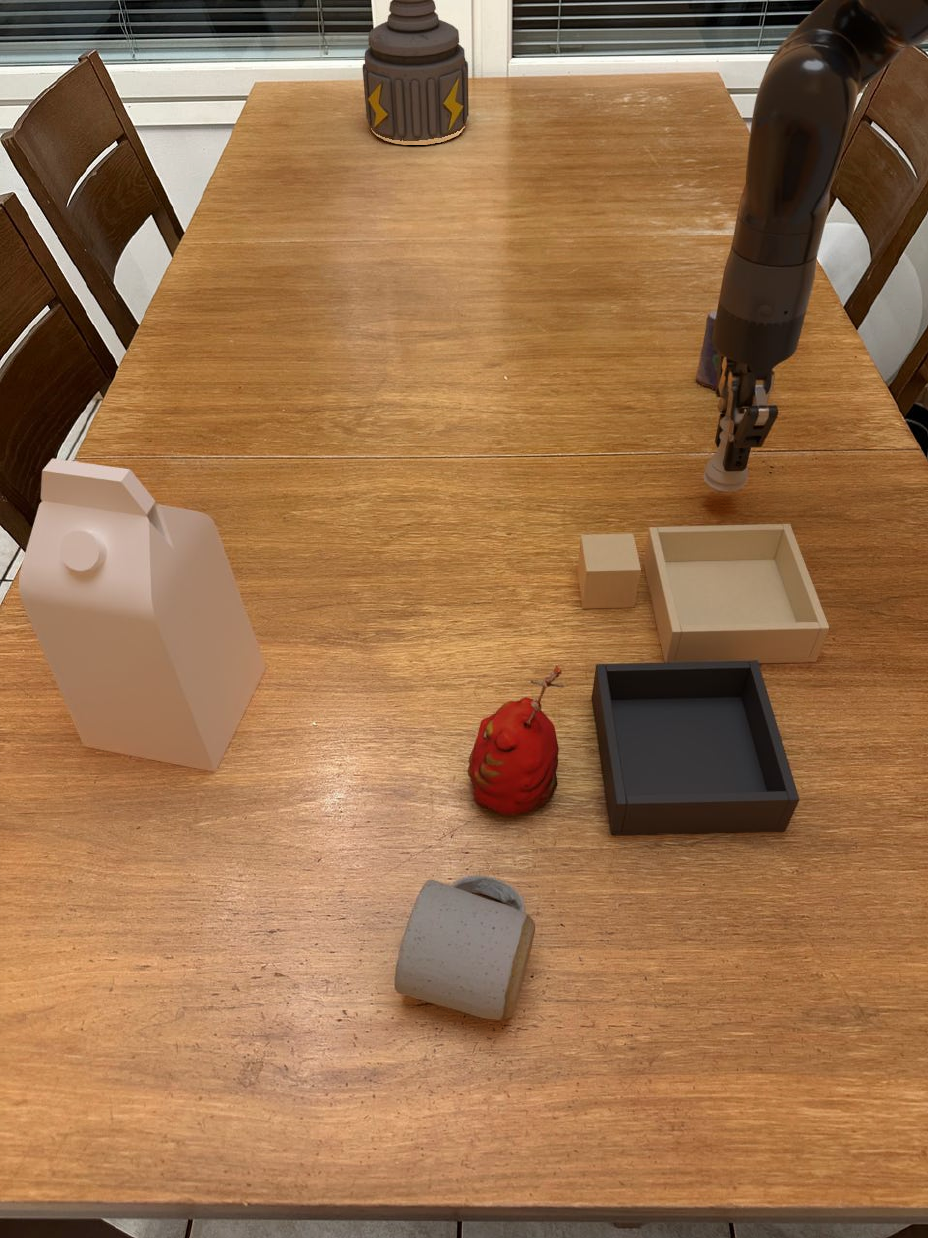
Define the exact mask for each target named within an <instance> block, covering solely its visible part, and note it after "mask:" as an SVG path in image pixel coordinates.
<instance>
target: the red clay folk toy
mask: <svg viewBox="0 0 928 1238" xmlns="http://www.w3.org/2000/svg"><path fill="white" fill-rule="evenodd" d="M550 673H551V674H550V675H549V677H547V676H546V677H545V678H543V680H542V682H538V681H534V680H530V683H532V684H534V685H539V686H542V688H541V692H540V694H539V695H538V698H537V699H533V698H531V697H527V696H526V697H523V698H520V699H519V700H515V701H513V700H510V701H507V702H505V703H503V704H502V705H501V706H500V707H499V708H498V709H497V710H496V711H495V712H494V713H493V714H491V715H489V716H487V717H484V718H483V719H482V720H481V721H480V725H479V727H478V728H479V729H478V732H477V736H476V739H475V741H474V745H473V747H472V750H471V752H470V755H469V757H468V768H467V776H468V777H469V778H470V782H471V784H472V785H473V795H472V796H473V799H474V802H475V803H476V805H477V806H479V807H481V808H485V809H491V810H492V811H494V812H496V813H497V814H500V815H503V816H505V815H506V816H512V815H513V816H514V815H519V814H523V813H527V812H529V811H530V810H532V809H534V808H536V807H537V806H541V805H545V804H547V803H548V802H549V801H550V800H551V798H552V797H553V795H554V794H555V791H556V789H557V786H558V776H557V770H558V766H559V749H560V748H559V742H558V737H557V732H556V728H555V724H554V723H553V722H552V720H551V719H550V718H549V717H548V716H547V714H546V713H545V712H544V711H542V703H541V701H542V698H543V695H544V693H545V691H546V689H547V688H549V687H555V688H556V687H557V688H564V685H563V683H553V682H554V681H555V680H556V679H557V678H559V677H561V675H562V668H561V667H560V666H558V665H556V666H555V667H554V668H552V670H551V672H550Z"/></svg>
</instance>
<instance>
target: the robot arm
mask: <svg viewBox="0 0 928 1238" xmlns="http://www.w3.org/2000/svg"><path fill="white" fill-rule="evenodd" d="M927 40H928V0H823V1H822V2H821V3H820V4H818V5H817V7H815V9H814V10H812V12H810V13H809V14H808V15H807V17H805V18H804V19H803V20H802V21H801V22H800V23H799V24H798V25H797V27H796V28H795V29H794V30H793V31H792V32H791V33H790V34H789V35H788V37H787V38H786V39H785V40H784V41H783V42H782V43H781V44H780V46H779V47H778V48H777V49H776V51H775V52H774V54H773V55H772V57H771V58H770V60H769V62H768V64H767V66H766V69H765V71H764V75H763V77H762V79H761V83H760V85H759V88H758V91H757V93H756V96H755V101H754V107H753V111H752V118H751V124H750V132H749V138H748V148H747V159H746V168H745V169H746V171H745V184H744V186H743V189H742V193H741V196H740V200H739V205H738V209H737V214H736V220H735V225H734V231H733V236H732V243H731V247H730V251H729V253H728V256H727V259H726V262H725V266H724V271H723V275H722V280H721V286H720V293H719V298H718V303H717V308H716V311H717V314H716V319H715V325H714V331H713V336H712V339H713V344H714V346H715V348H716V349H717V350H718V352H719V359H718V372H717V385H716V391H714V392H715V395H716V398H719V401H718V404H717V410H718V412H719V417H718V422H717V427H716V434H715V439H714V443H715V446H716V448H718V447H719V445H720V441H721V439H720V433H721V432H722V431H723V429H722V428H721V426H720V420H721V419H722V418H723V417H725V414H726V413H727V415H728V417H729V418H730V428H729V433H728V441H727V446H726V450H725V455H724V460H723V467H724V470H725V471H743V470H745V469H746V467H748V461H749V458H750V454H751V449H752V448H761V447H763V446H764V443H765V441H766V439H767V437H768V435H769V433H770V431H772V428H773V426H774V424H775V422H776V420H777V418H778V415H779V409H778V406H777V405H776V404H773V405H771V404H770V405H769V399H770V394H771V393H770V392H772V391H773V389H774V385H775V378H776V373H775V370H774V369H775V367H777V366H778V365H779V364H781V363H783V362H785V361H787V360H789V359H790V358H791V357H792V356H793V355H794V354H795V352H796V351H797V349H798V345H799V343H800V342H799V341H800V338H801V334H802V329H803V326H804V322H805V319H806V315H807V311H808V307H809V302H810V298H811V294H812V290H813V287H814V282H815V276H816V268H817V267H816V266H817V260H818V253H819V250H820V246H821V243H822V239H823V234H824V230H825V226H826V222H827V217H828V213H829V206H830V200H831V188H832V186H833V182H834V180H835V176H836V173H837V170H838V167H839V164H840V161H841V159H842V155H843V151H844V148H845V144H846V141H847V138H848V134H849V131H850V128H851V123H852V120H853V117H854V113H855V109H856V105H857V98H858V96H859V95H860V93H862V91H863V90H864V89H865V88H866V87H867V86H868V85H869V83H871V82H872V81H873V80H874V78H876V77H877V76H878V75H879V74H880V73H881V72H882V71H883V70H885V68H886V67H887V66H888V65H889V64H890V63H892V62H893V60H894V59H896V58H897V57H898V56H899V55H900V54H901V53H902V52H903V51H904V50H905V49H906V48H914V47H917V46H919V45H921V44H923V43H924V42H925V41H927ZM740 421H741V423H740V425H739V427H738V424H739V422H740Z"/></svg>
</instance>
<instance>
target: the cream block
mask: <svg viewBox="0 0 928 1238" xmlns="http://www.w3.org/2000/svg"><path fill="white" fill-rule="evenodd" d="M637 548H638V547H637V544H636V538H635V534H634V533H594V534H591V533H589V534H580V539H579V548H578V549H579V551H578V560H577V569H576V571H577V572H576V573H577V581H578V587H579V594H580V601H581V602H580V603H581V609H582V610H584V609H586V610H587V609H622V608H623V609H625V608H627V609H630V608H635V607H636V602H637V596H638V590H639V585H640V579H641V573H642V569H641V564H640V563H641V562H640V558H639V554H638V549H637Z"/></svg>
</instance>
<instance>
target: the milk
mask: <svg viewBox="0 0 928 1238" xmlns="http://www.w3.org/2000/svg"><path fill="white" fill-rule="evenodd" d="M40 500H41V502H40V503H39V504H38V508H37V510H36V515H35V518H34V521H33V525H32V528H31V533H30V536H29V539H28V542H27V545H26V549H25V553H24V557H23V559H22V563H21V567H20V571H19V577H18V595H19V599H20V602H21V605H22V606H23V609H24V612H25V613H26V616H27V619H28V620H29V624H30V625H31V627H32V630H33V632H34V635H35V638H36V639H37V642H38V644H39V646H40V648H41V651H42V653H43V656H44V658H45V660H46V662H47V665H48V667H49V669H50V673H51V675H52V676H53V679H54V681H55V683H56V685H57V688H58V690H59V693H60V695H61V697H62V700H63V701H64V704H65V706H66V708H67V711H68V713H69V716H70V718H71V720H72V722H73V725H74V727H75V729H76V732H77V734H78V737H79V739H80V741H81V744H82V746H83V747H84V748H90V749H94V750H100V751H105V752H108V753H109V752H110V753H114V754H120V755H126V756H130V757H135V758H142V759H145V760H150V761H156V762H162V763H166V764H172V765H176V766H180V767H181V766H182V767H187V768H192V769H197V770H202V771H207V772H212V773H217V771H218V769H219V767H220V765H221V763H222V761H223V758H224V756H225V755H226V752H227V751H228V748H229V746H230V744H231V742H232V740H233V738H234V737H235V736H234V735H235V733H236V732H237V729H238V727H239V725H240V723H241V721H242V719H243V717H244V716H245V713H246V711H247V708H248V707H249V705H250V702H251V701H252V698H253V696H254V694H255V692H256V690H257V688H258V687H259V684H260V682H261V680H262V678H263V675H264V673H266V672H265V671H266V669H267V665H266V662H265V658H264V657H263V654H262V650H261V648H260V645H259V643H258V640H257V637H256V634H255V632H254V629H253V626H252V622H251V620H250V618H249V617H250V616H249V614H248V612H247V609H246V606H245V603H244V600H243V598H242V595H241V592H240V589H239V586H238V583H237V580H236V578H235V575H234V573H233V570H232V566H231V564H230V561H229V559H228V555H227V553H226V549H225V547H224V543H223V541H222V539H221V536H220V533H219V530H218V527H217V525H216V523H215V521H214V519H213V518H212V517H211V516H210V515H209V514H206V513H204V512H202V511H197V510H193V509H188V508H182V507H177V506H171V505H165V504H160V503H156V501H155V499H154V498H153V496H152V495H151V493H150V492H149V491H148V490H147V489H146V487H145V486H144V485H143V483H142V482H141V480H139V478H137V476H136V475H135V473H134V472H133V471H132V469H130V468H125V467H116V466H111V465H110V466H109V465H101V464H96V463H89V462H81V461H73V460H65V459H59V458H53V457H52V458H51V459H50V461H48V463H47V464H46V466H44V468H42V470H41V483H40Z"/></svg>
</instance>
